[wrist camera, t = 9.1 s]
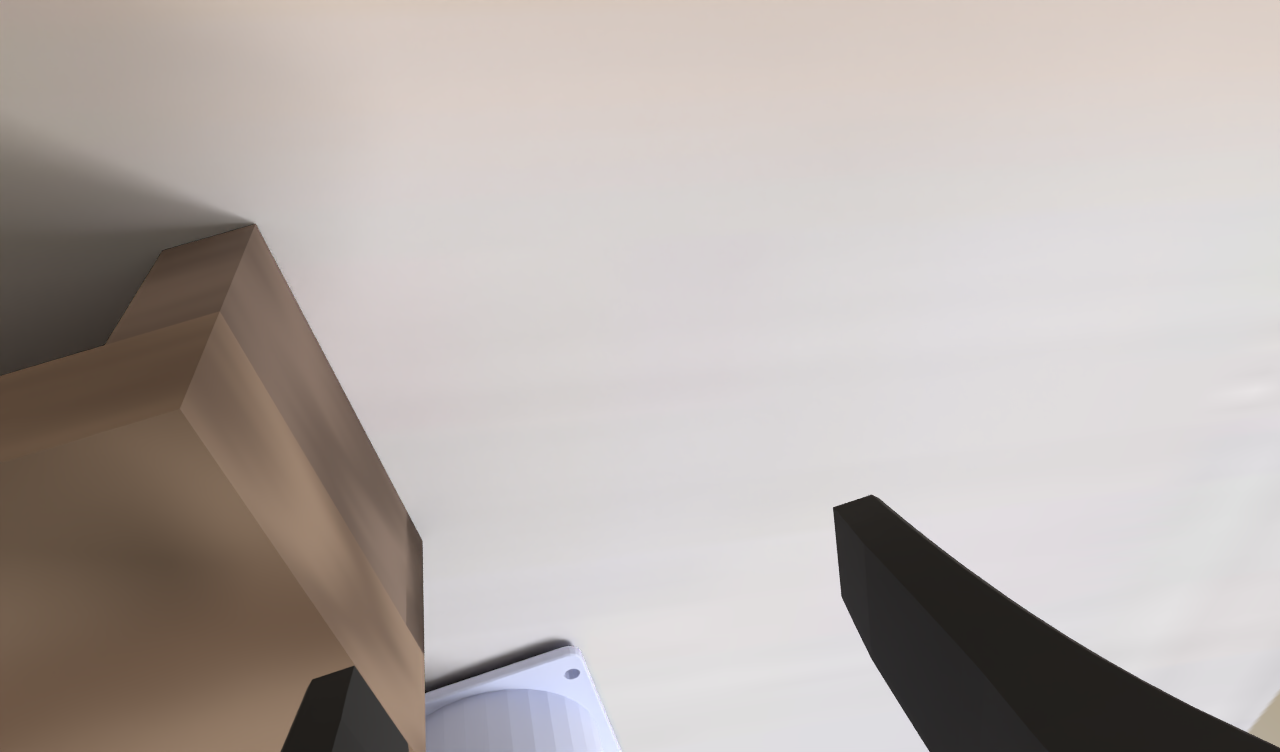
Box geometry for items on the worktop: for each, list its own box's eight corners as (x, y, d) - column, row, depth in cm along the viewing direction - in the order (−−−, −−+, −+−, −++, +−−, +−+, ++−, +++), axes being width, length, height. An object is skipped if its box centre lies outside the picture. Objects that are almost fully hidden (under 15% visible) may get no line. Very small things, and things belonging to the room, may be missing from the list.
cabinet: (422, 540, 23) (426, 768, 17) (-43, 689, 22) (-200, 982, 16) (255, 224, 17) (179, 408, 12) (-381, 406, 16) (-800, 704, 11)
